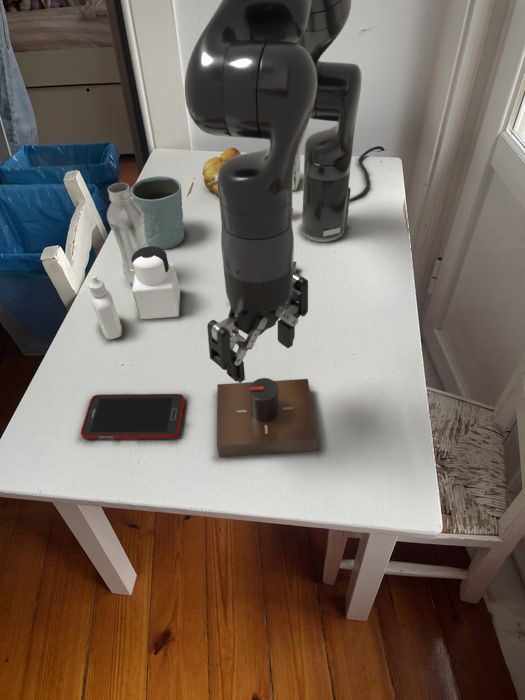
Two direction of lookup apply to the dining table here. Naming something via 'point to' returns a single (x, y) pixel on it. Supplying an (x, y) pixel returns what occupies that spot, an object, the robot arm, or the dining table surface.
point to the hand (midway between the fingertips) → (262, 360)
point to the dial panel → (265, 436)
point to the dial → (264, 399)
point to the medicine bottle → (155, 284)
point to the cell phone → (133, 416)
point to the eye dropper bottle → (105, 309)
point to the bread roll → (217, 167)
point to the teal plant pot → (161, 210)
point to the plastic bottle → (126, 225)
